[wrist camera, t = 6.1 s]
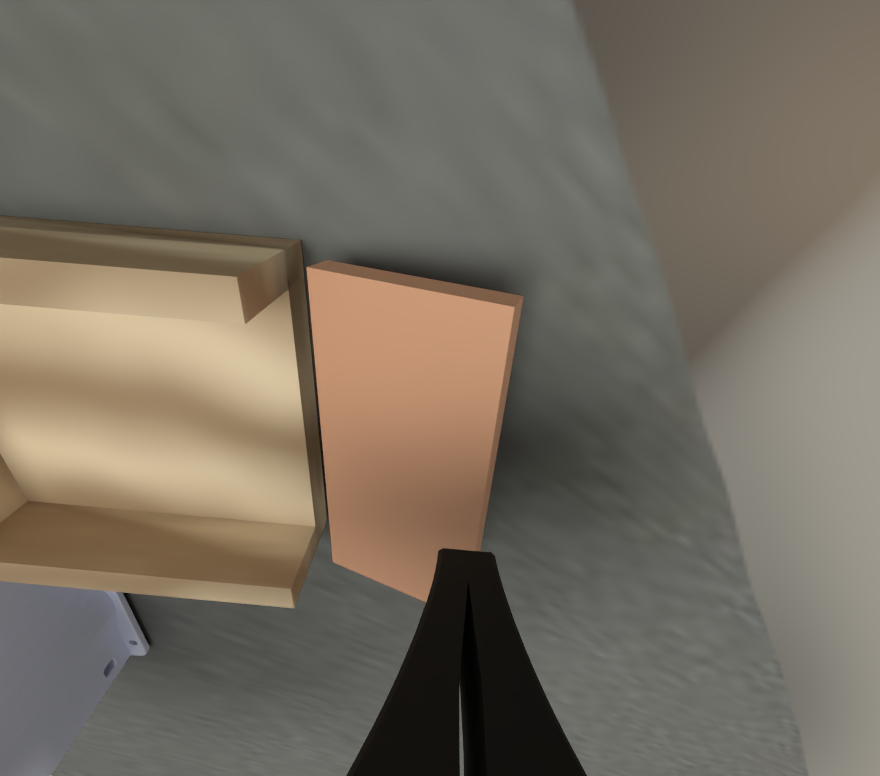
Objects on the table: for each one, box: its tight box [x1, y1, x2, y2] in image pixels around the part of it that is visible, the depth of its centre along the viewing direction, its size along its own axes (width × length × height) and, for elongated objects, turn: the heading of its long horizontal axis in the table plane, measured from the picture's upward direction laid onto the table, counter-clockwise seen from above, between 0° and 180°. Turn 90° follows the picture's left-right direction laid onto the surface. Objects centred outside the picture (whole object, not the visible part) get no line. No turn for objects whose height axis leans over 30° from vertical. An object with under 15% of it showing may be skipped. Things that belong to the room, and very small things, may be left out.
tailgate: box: [307, 260, 524, 602], centre depth 15 cm, size 13×2×6 cm
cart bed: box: [0, 216, 327, 608], centre depth 15 cm, size 13×14×6 cm
